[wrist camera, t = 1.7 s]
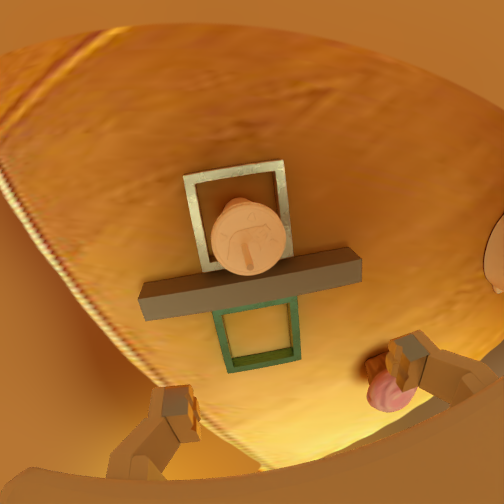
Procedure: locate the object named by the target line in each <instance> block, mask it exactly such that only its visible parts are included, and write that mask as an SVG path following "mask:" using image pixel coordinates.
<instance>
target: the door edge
mask: <svg viewBox="0 0 504 504" xmlns="http://www.w3.org/2000/svg"><path fill="white" fill-rule="evenodd" d="M358 282H362V258H360V257H359V256H358V255H357V254H356V253H355V252H354V251H353V250H351V249H350V248H349V247H346V248H341V249H335V250H330V251H324V252H319V253H314V254H308V255H303V256H297V257H292V258H286V259H281V260H278V262H277V263H276V264H275V265H274V266H272V267H271V268H270V269H268V270H267V271H265V272H263V273H260V274H256V275H249V276H245V275H238V274H235V273H232V272H230V271H228V270H227V269H224V270H219V271H213V272H207V273H201V274H196V275H190V276H184V277H178V278H172V279H166V280H160V281H154V282H148V283H144V285H143V287H142V290H141V292H140V295H139V297H138V302H139V304H140V307H141V310H142V313H143V316H144V318H145V321H150V320H158V319H164V318H171V317H178V316H185V315H191V314H197V313H204V312H210V311H216V310H222V309H228V308H233V307H239V306H245V305H250V304H256V303H261V302H267V301H272V300H277V299H282V298H287V297H292V296H297V295H302V294H307V293H312V292H317V291H322V290H326V289H331V288H335V287H340V286H345V285H349V284H354V283H358Z"/></svg>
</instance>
